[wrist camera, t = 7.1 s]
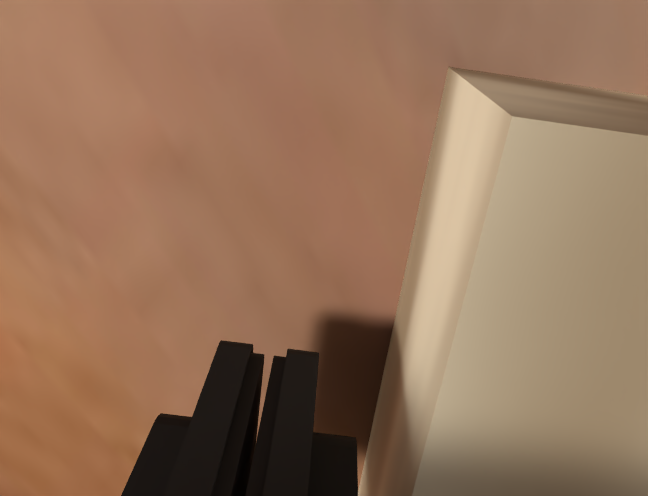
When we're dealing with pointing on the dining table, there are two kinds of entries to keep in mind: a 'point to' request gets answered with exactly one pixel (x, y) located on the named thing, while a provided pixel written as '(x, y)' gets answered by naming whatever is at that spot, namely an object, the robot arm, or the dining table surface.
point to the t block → (522, 300)
